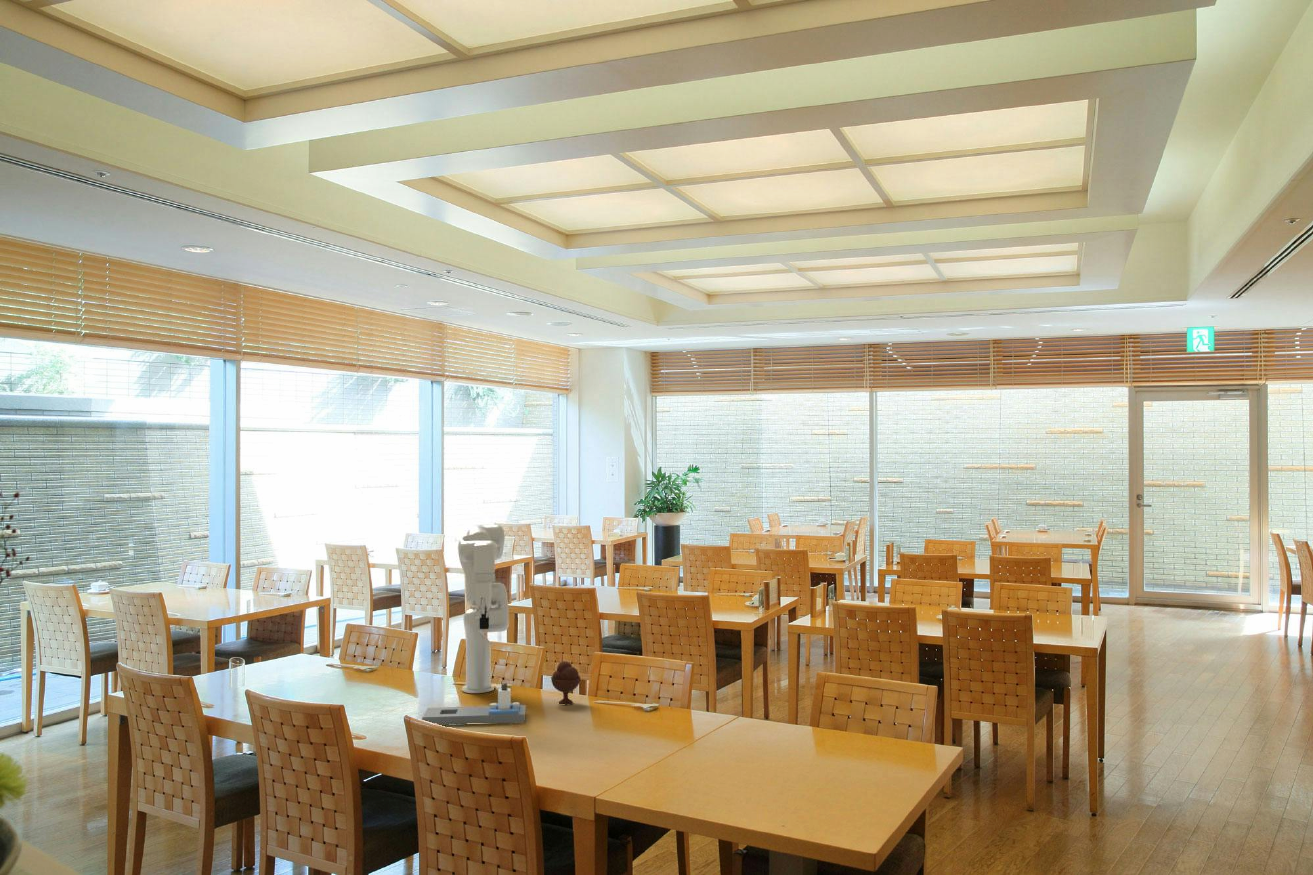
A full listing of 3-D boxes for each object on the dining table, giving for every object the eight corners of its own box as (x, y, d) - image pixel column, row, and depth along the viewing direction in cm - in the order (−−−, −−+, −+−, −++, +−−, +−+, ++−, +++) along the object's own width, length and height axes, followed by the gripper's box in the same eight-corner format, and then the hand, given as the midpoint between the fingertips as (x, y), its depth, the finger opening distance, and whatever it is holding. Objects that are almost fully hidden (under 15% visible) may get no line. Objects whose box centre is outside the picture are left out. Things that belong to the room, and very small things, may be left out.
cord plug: (499, 717, 322) (498, 682, 322) (510, 716, 322) (510, 682, 322) (498, 720, 318) (498, 685, 318) (509, 720, 318) (509, 685, 318)
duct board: (427, 716, 323) (427, 701, 323) (525, 713, 326) (525, 698, 327) (422, 726, 311) (422, 710, 311) (524, 722, 314) (524, 707, 315)
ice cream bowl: (545, 705, 337) (544, 663, 338) (562, 698, 347) (561, 657, 347) (569, 708, 332) (569, 666, 333) (586, 701, 342) (585, 660, 342)
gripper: (475, 574, 339) (475, 625, 339) (471, 580, 324) (471, 632, 324) (496, 574, 340) (496, 624, 339) (493, 579, 325) (493, 632, 325)
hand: (484, 628), depth 332 cm, fingers closed
